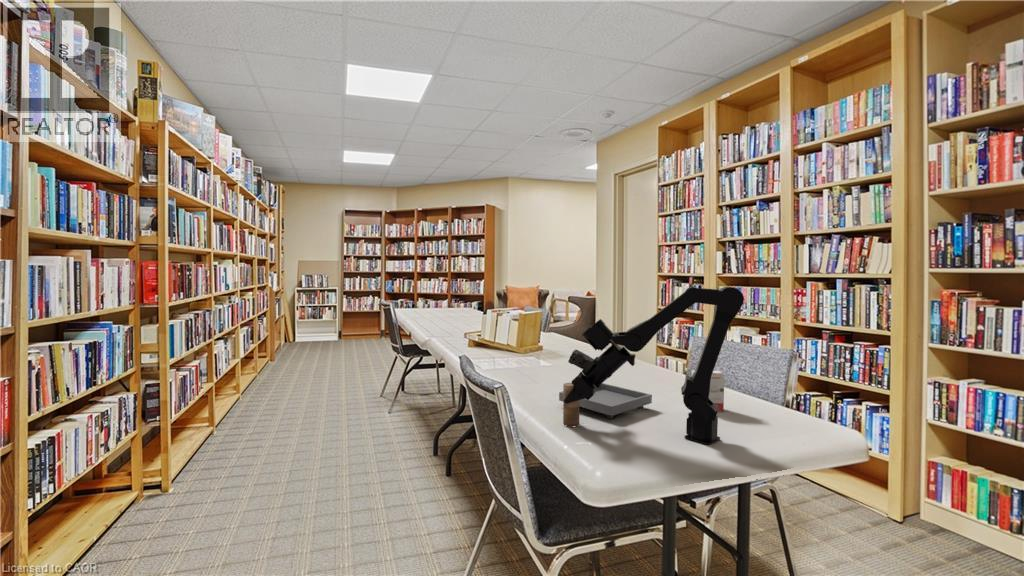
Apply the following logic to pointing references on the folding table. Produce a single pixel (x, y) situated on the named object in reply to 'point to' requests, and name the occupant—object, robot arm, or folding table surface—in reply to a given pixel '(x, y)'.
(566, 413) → the walnut part
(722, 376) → the ink box
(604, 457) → the folding table surface
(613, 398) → the parts tray
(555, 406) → the folding table surface
